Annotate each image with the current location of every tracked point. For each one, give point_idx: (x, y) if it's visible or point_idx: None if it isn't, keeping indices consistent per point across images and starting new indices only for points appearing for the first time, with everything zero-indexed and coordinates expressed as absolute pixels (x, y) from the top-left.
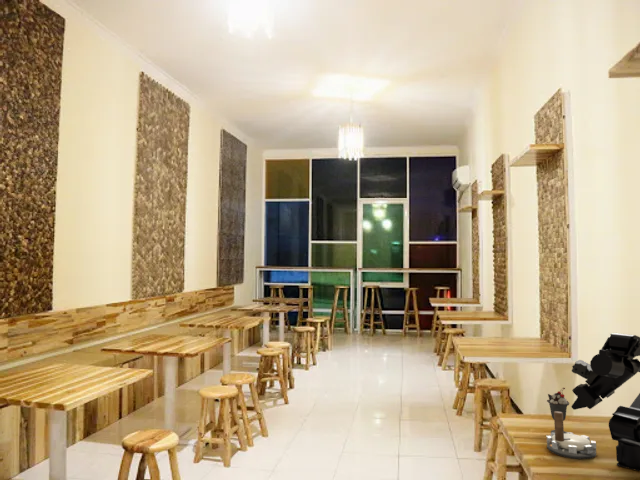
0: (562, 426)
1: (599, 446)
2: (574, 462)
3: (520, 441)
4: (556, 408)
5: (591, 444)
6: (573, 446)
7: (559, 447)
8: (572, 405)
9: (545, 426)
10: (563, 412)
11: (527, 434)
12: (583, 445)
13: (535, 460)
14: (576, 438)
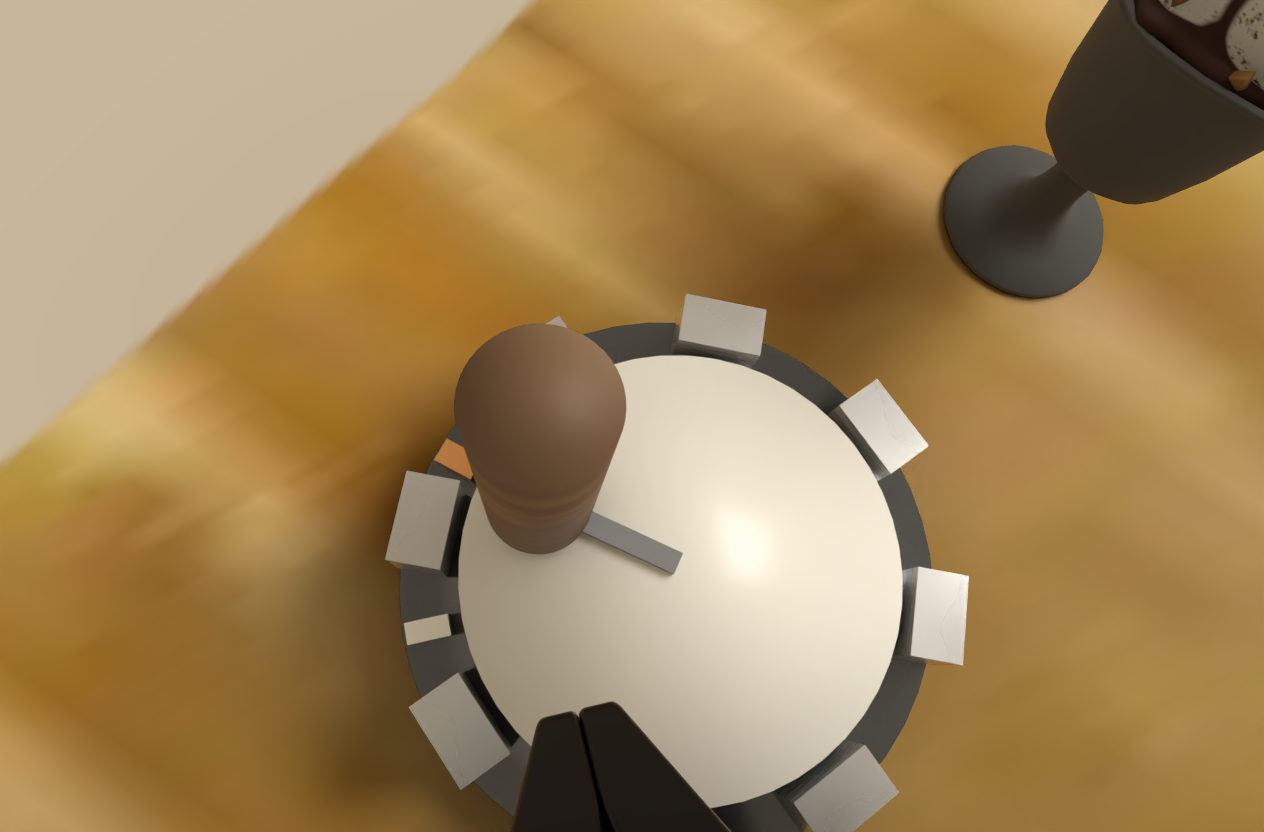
0: (529, 527)
1: (1051, 692)
2: (355, 812)
3: (455, 123)
4: (1131, 64)
5: (787, 799)
6: (460, 746)
7: (430, 571)
8: (526, 773)
9: (1066, 42)
10: (1177, 157)
11: (701, 58)
12: None
13: (53, 519)
14: (774, 594)
